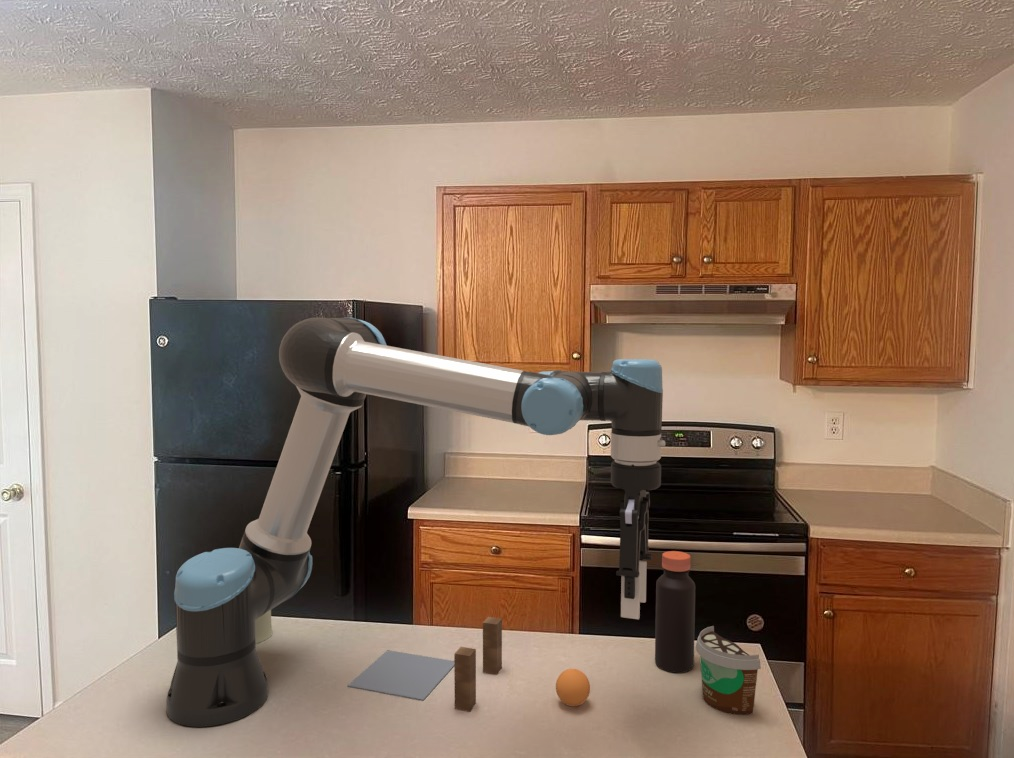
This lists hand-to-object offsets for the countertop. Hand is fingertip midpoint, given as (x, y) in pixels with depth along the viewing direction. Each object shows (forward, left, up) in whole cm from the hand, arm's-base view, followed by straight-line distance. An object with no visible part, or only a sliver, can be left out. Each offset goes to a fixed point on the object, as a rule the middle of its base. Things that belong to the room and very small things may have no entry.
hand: (633, 608), depth 111 cm
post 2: (-26, +6, -17) cm, 31 cm away
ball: (-10, 0, -14) cm, 17 cm away
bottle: (+4, +19, -17) cm, 26 cm away
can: (-76, +4, -17) cm, 78 cm away
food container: (+12, +8, -17) cm, 23 cm away
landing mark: (-40, 0, -17) cm, 43 cm away
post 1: (-26, -6, -17) cm, 31 cm away
